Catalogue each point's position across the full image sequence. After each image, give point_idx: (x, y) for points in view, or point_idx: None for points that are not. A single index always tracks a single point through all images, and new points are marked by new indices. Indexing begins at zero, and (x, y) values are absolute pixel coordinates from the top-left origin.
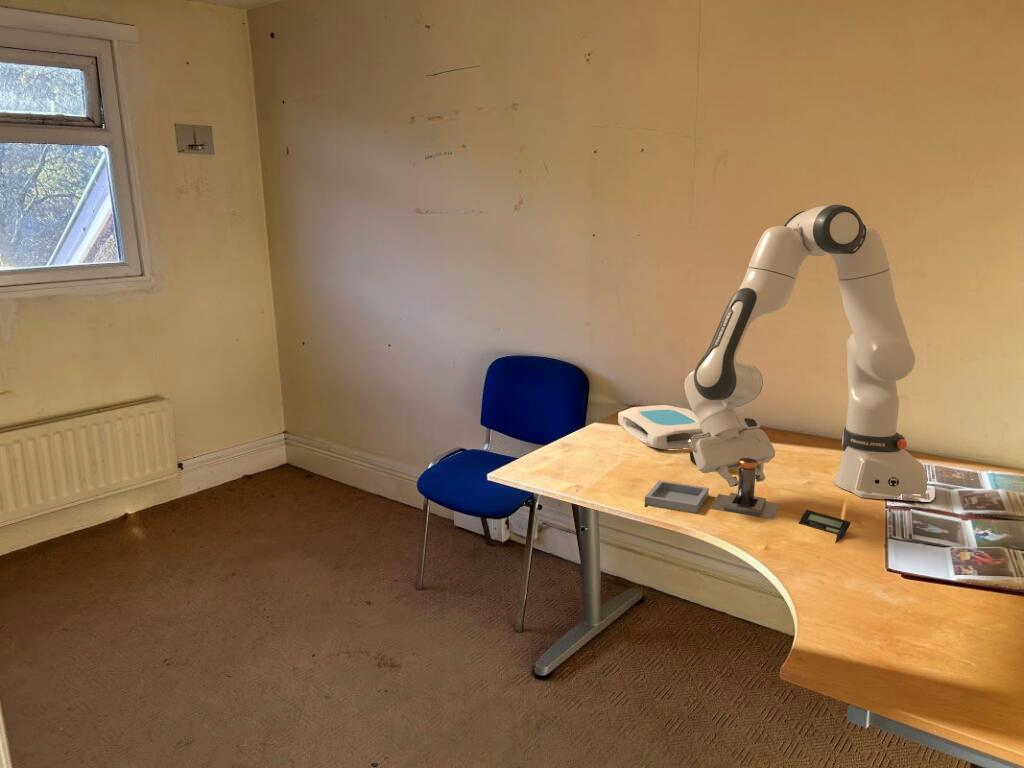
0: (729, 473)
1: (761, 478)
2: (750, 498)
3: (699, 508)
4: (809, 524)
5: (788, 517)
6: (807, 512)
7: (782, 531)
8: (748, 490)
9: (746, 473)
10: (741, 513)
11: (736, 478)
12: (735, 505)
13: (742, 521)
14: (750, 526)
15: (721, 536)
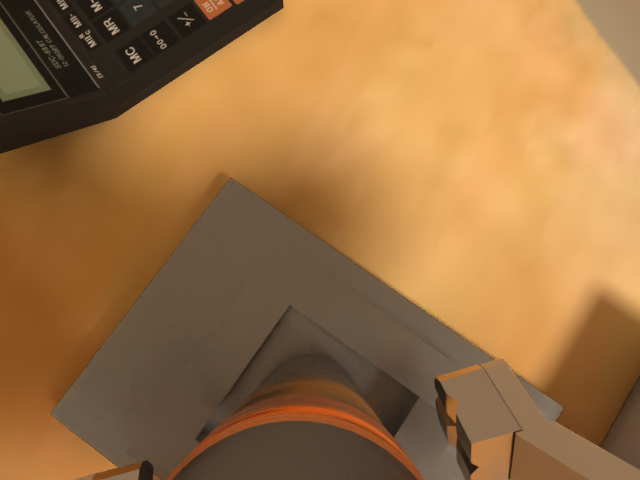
0: (576, 469)
1: (128, 467)
2: (297, 361)
3: (632, 415)
4: (72, 63)
5: (110, 230)
6: (10, 120)
7: (249, 61)
8: (318, 368)
9: (358, 409)
10: (385, 291)
11: (467, 415)
12: (412, 349)
13: (407, 218)
14: (391, 146)
15: (595, 55)
